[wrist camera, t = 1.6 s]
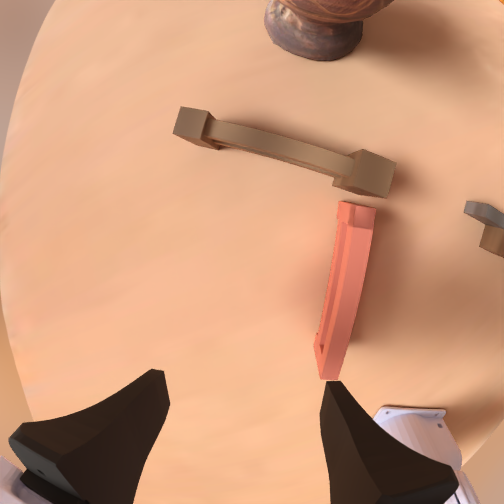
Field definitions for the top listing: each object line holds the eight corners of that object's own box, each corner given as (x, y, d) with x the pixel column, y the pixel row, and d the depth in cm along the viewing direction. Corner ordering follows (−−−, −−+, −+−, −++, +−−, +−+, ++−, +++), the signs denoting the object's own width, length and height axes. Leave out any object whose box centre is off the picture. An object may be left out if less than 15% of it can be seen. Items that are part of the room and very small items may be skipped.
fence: (535, 245, 18) (570, 258, 12) (527, 272, 18) (560, 289, 13) (207, 108, 18) (184, 84, 13) (196, 148, 19) (168, 135, 14)
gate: (338, 201, 19) (356, 205, 15) (355, 203, 19) (376, 208, 15) (313, 345, 21) (320, 379, 17) (328, 346, 21) (337, 380, 17)
